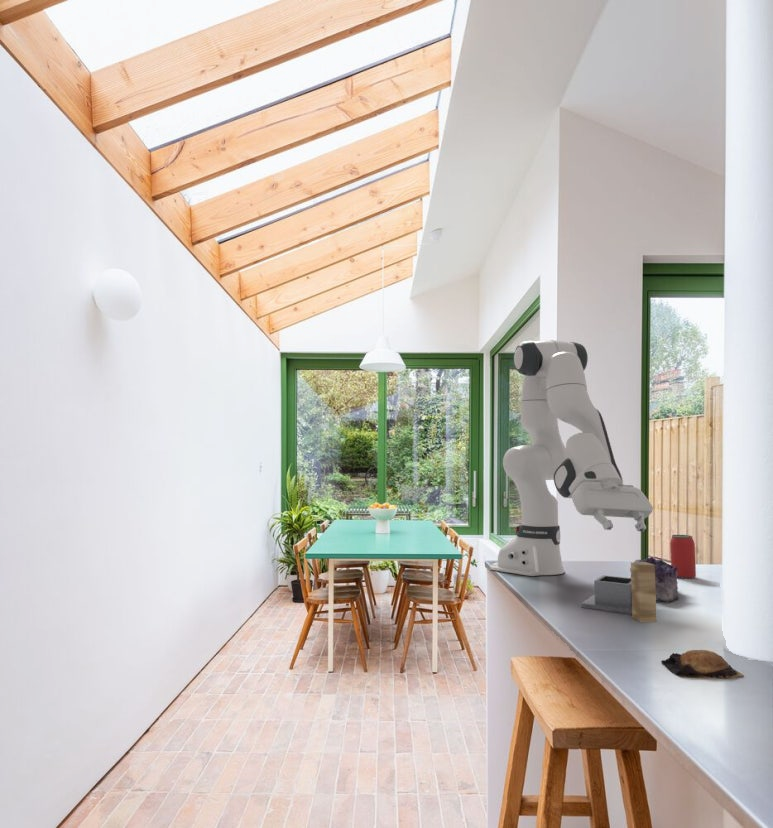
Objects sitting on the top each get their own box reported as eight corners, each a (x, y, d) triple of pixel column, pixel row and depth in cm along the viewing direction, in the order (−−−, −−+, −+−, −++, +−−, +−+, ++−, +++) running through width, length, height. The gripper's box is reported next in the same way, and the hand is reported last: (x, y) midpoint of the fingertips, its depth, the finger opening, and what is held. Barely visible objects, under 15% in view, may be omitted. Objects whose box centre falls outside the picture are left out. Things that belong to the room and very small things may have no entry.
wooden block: (632, 618, 132) (630, 562, 133) (647, 617, 132) (645, 562, 133) (641, 622, 128) (639, 565, 129) (656, 621, 129) (654, 564, 130)
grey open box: (581, 607, 141) (580, 581, 142) (596, 596, 152) (595, 572, 152) (640, 615, 134) (639, 588, 134) (651, 603, 145) (650, 578, 145)
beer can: (669, 577, 177) (667, 536, 178) (673, 574, 182) (672, 533, 183) (694, 580, 173) (692, 537, 174) (697, 576, 178) (696, 535, 179)
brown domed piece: (718, 664, 104) (718, 642, 104) (748, 682, 95) (747, 658, 96) (656, 664, 104) (655, 642, 104) (680, 682, 95) (679, 657, 96)
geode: (696, 605, 144) (688, 563, 145) (645, 609, 147) (638, 568, 147) (674, 584, 164) (667, 547, 165) (629, 588, 166) (623, 552, 167)
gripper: (629, 493, 157) (654, 538, 148) (562, 488, 151) (583, 535, 142) (643, 478, 153) (669, 523, 144) (574, 472, 147) (596, 519, 137)
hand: (626, 529), depth 142 cm, fingers open, 8 cm apart
